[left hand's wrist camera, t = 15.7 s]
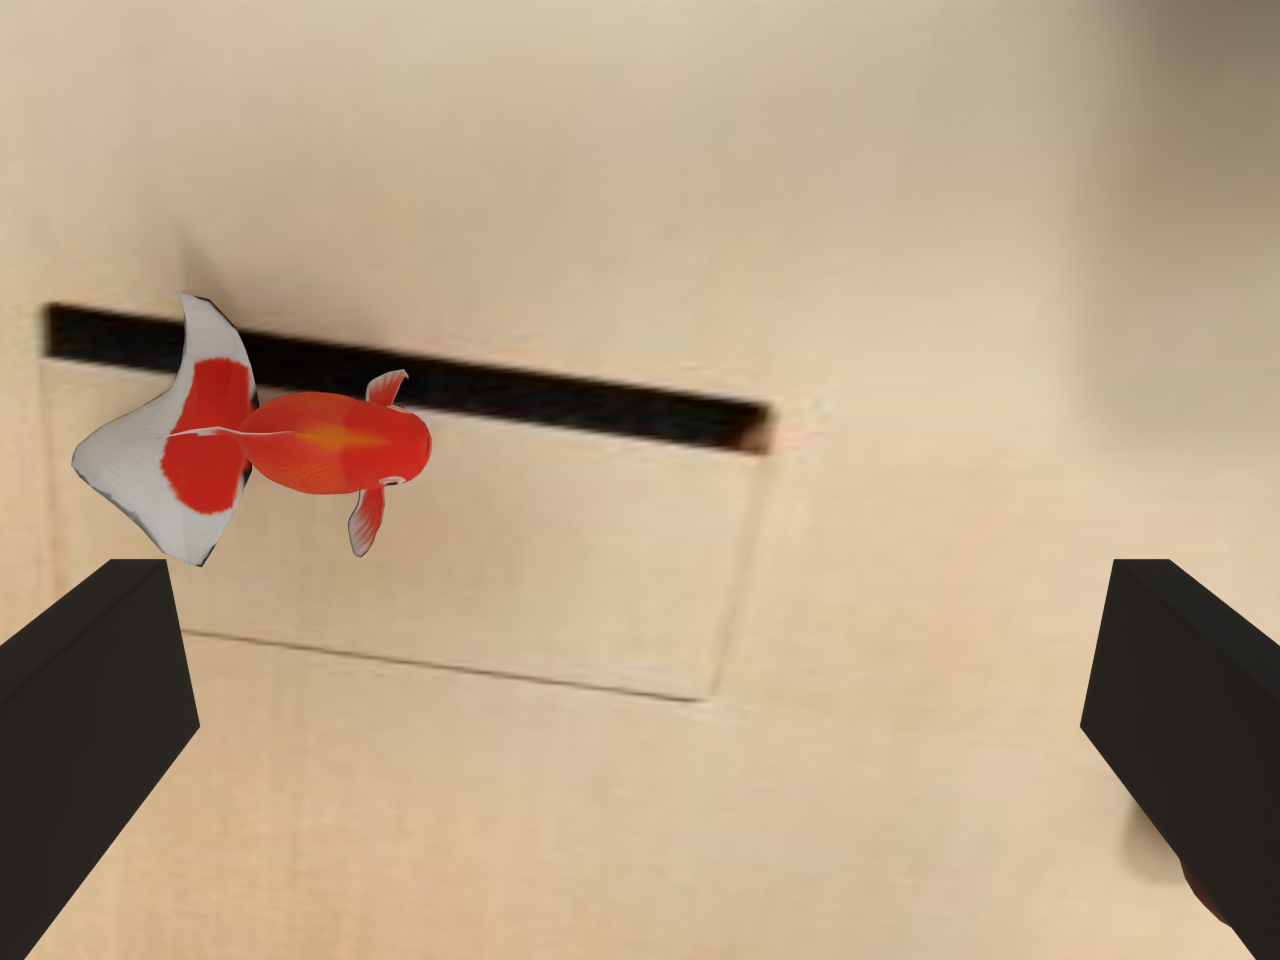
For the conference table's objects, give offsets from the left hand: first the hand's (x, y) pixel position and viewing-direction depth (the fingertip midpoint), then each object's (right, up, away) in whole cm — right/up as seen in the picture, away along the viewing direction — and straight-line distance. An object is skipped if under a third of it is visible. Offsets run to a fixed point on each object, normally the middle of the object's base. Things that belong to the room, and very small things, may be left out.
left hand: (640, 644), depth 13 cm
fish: (-16, +5, +28) cm, 32 cm away
